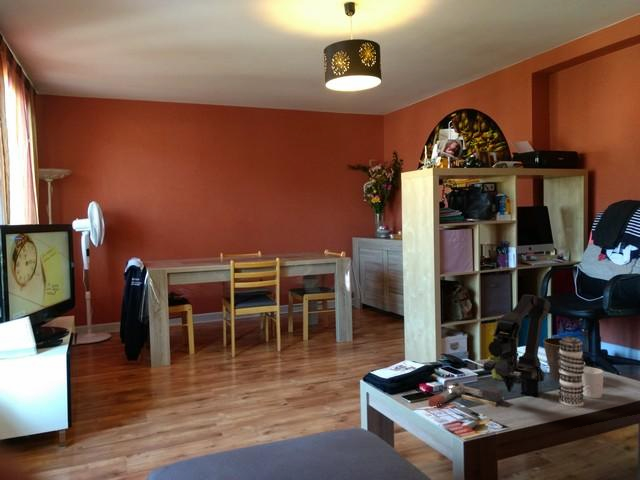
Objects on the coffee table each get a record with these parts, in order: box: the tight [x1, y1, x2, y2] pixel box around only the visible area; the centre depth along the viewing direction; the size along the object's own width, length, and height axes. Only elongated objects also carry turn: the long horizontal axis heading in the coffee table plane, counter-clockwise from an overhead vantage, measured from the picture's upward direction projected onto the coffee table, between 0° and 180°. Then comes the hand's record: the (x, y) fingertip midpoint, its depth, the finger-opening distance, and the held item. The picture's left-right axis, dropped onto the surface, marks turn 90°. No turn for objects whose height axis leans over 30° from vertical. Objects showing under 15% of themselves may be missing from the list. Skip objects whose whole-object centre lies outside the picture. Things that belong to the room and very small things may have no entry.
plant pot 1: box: [488, 355, 504, 381], centre depth 224 cm, size 9×9×9 cm
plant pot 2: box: [543, 337, 564, 380], centre depth 222 cm, size 15×15×16 cm
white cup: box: [582, 367, 604, 399], centre depth 201 cm, size 8×8×10 cm
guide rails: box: [460, 392, 505, 407], centre depth 200 cm, size 14×8×1 cm, turn 47°
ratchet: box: [428, 381, 482, 407], centre depth 200 cm, size 14×22×4 cm, turn 137°
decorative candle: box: [558, 336, 585, 408], centre depth 193 cm, size 9×9×25 cm
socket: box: [481, 386, 503, 407], centre depth 197 cm, size 6×5×5 cm
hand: (509, 391), depth 192 cm, fingers closed
